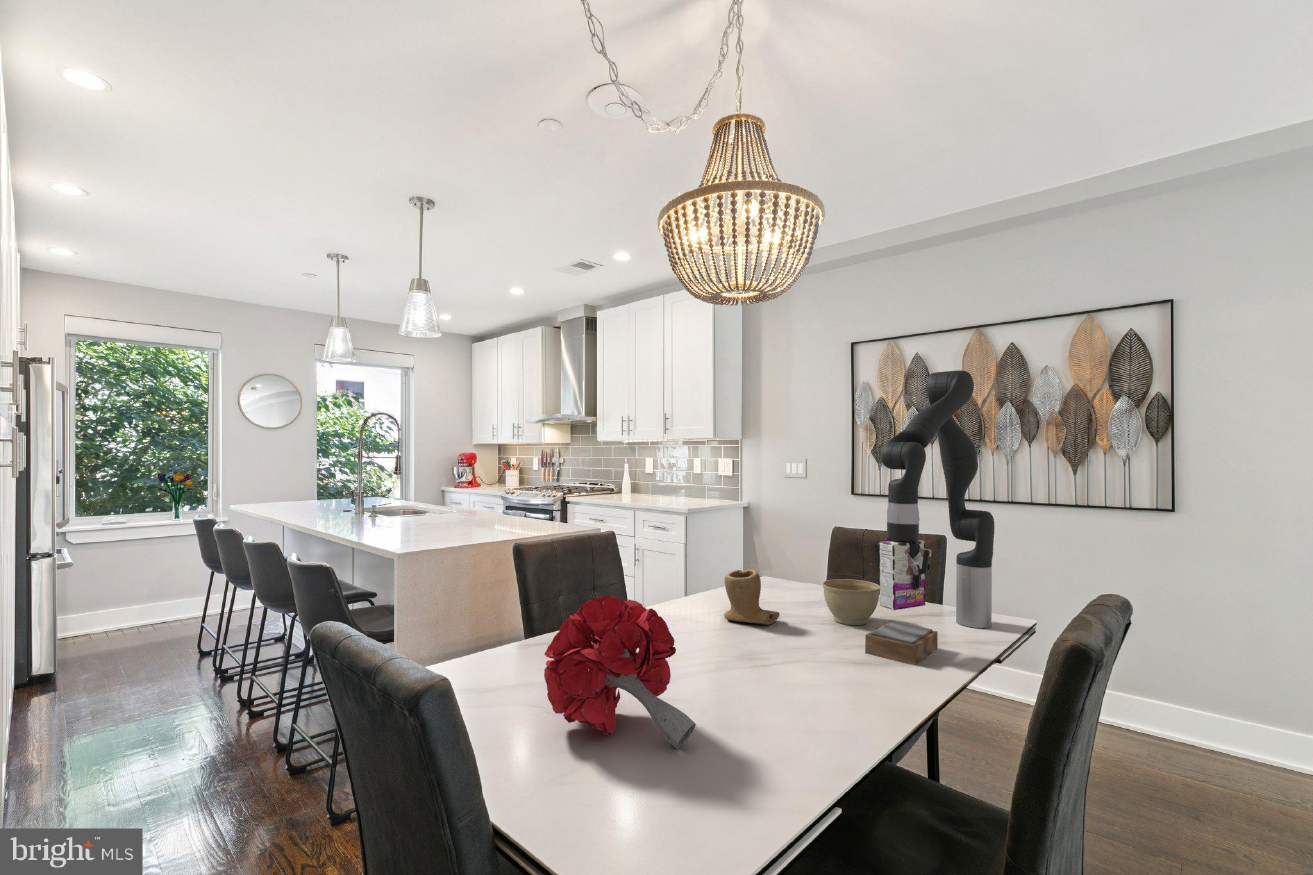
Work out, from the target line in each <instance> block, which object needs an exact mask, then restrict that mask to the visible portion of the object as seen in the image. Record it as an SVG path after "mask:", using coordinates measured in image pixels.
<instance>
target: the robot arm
mask: <svg viewBox="0 0 1313 875" xmlns="http://www.w3.org/2000/svg"><path fill="white" fill-rule="evenodd" d="M974 389H975V384H974V378H973V376H972V374H971V373H970V372H969V371H967V370H960V369H959V370H948V371H937V372H932V373H930V374H929V376H928V377H927V379H926V395H927V399H928V402H929V403H928V404H929V405H928V406H927V407H924V409H922V410H920V411H919V412H918V413H916V414H915V415H914V416H913V417H912V419H911V420H910V421H909V422H908V424H907V425H906V426H905V427H904V429H903V430H902V431H900V432H898V433H897V434H895V435H894V436H893V437H892V438H891V439H889V440H888V441H886V443H885V444H884V445H883V447H882V450H881V452H880V461H881V463H882V465H883V466H884V467H885V468H887V469H890V470H898V471H899V470H900V471H901V470H902V471H903V470H904V474H903V476H902V477H901V478H894V479H892V480H890V481H889V482H888V487H887V493H888V494H887V509H886V541H900V542H907V543H909V549H910V553H909V552H908V551H907V555H908V564H909V566H910V567H911V568H912V570H913V572H914V575H913V590H918V589H919V588H920V587H921V575H922V574H925V575H926V574H927V573H930V571H931V565H932V564H931V563H932V556H933V550H932V549H931V548H925V549H924V548H921V547H920V545H919V540H920V510H919V485H920V482H921V477H922V474H923V470H924V467H925V464H926V459H927V454H926V450H925V448H927V447H928V446H929V445H930V443H931V442H932V441H933V439H934V438H935V436H936V435H937V440H938V445H939V446H938V447H939V453H940V454H939V455H940V460H941V466H942V470H943V477H944V479H945V480H944V481H945V486H946V487H945V488H946V493H947V503H948V507H947V508H948V519H949V526H950V531H951V533H952V536H953V537H954V538H955V539H957V540H961V541H967V542H975V544H974V548H972V549H970V550H967V551H963V552H959V553H957V554H956V558H955V561H956V565H955V566H956V572H955V573H956V577H955V581H956V583H955V586H956V592H955V594H956V595H955V596H956V597H955V598H956V602H955V604H956V605H955V622H956V623H957V624H959V625H962V626H965V627H970V628H977V629H988V628H991V627H992V626H993V625H992V621H993V619H992V616H993V614H992V613H993V611H992V610H993V608H992V607H993V606H992V605H993V602H992V600H993V590H992V587H993V582H992V581H993V579H992V578H993V566H992V565H993V556H994V541H995V539H994V538H995V528H996V527H995V520H994V516H993V513H991V512H990V511H988V510H981V509H978V510H977V509H969V508H968V509H967V507H966V502H965V501H966V500H965V498H966V493H967V491H968V489H969V487H970V486H971V484H972V481H973V480H974V478H975V477H976V474H977V473H978V469H979V463H978V462H979V461H978V456H977V450H976V446H975V443H974V441H973V440H972V439H971V437H970V436H969V434H967V433H966V432H965V430H964V429H963V428H962V427H961V426H960V424H958V423H957V421H956V419H955V418H954V415H955V414H956V413H957V412H958V411H959V410H960V409H962V407H963V406H964V405H966V404H967V403H969V402H968V401H970V400H971V398H972V396H973V393H974ZM873 548H874V554H875V555H874V556H875V562H876V564H875V565H876V567H877V568H880V542H878V543H874V546H873ZM919 552H920V553H921V556H922V557H923V562H922V569H921V568H920V565H919V562H918V560H917V559H916V562H914V561H913V559H914V558H915V557H916V556H917V554H918V553H919ZM910 561H911V562H910Z"/></svg>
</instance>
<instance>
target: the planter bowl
mask: <svg viewBox="0 0 1313 875" xmlns="http://www.w3.org/2000/svg"><path fill="white" fill-rule="evenodd" d="M822 586H823V587H822V588H823V596H824V600H825V603H826V605H827V607H828V610H829V611H830V613H831V614H832V615H833V620H834V621H835V622H837V623H840V624H842V625H843V624H844V625H848V626H849V625H850V626H862V625H863V626H864V625H867V624H868V623H869V620H870V618H871V617H872V615H873V614H874V612H875V611H876V608H877V607H878V603H879V601H880V584H877V583H874V582H871V581H868V580H867V581H866V580H861V579H859V580H858V579H850V578H848V579H847V578H846V579H845V578H844V579H843V578H842V579H841V578H840V579H838V578H837V579H828V580H824V581H823V582H822Z"/></svg>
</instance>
